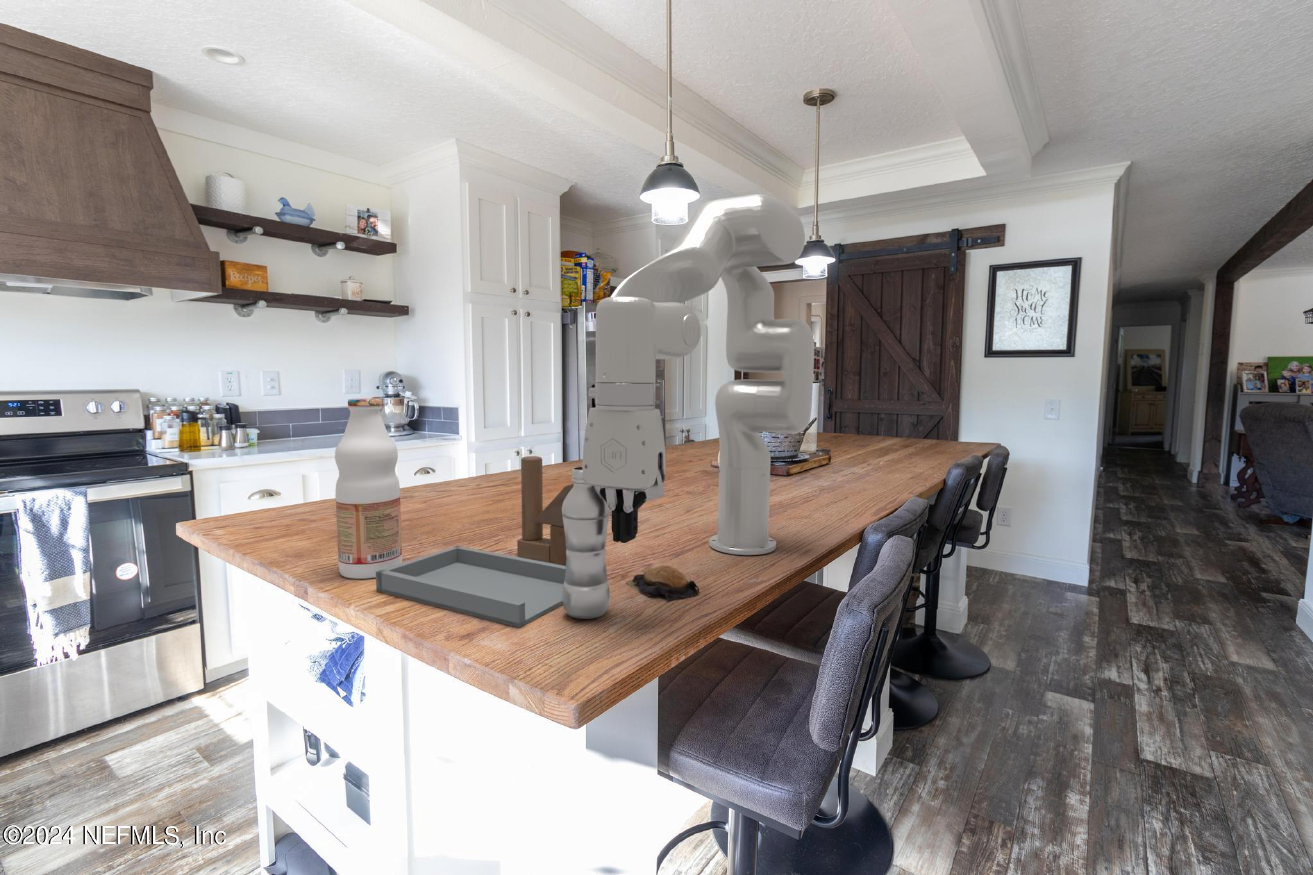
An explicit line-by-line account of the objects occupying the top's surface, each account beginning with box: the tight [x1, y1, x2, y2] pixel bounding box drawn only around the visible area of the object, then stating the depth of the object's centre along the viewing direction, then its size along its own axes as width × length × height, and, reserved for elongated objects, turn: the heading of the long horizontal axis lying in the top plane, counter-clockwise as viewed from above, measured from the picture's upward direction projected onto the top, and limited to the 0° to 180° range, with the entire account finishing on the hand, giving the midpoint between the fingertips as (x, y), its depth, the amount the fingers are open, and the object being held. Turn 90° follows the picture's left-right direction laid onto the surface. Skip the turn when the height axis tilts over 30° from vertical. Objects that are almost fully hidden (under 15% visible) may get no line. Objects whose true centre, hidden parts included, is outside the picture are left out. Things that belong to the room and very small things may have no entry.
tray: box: [375, 545, 566, 629], centre depth 91 cm, size 16×27×3 cm, turn 62°
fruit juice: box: [334, 398, 403, 580], centre depth 99 cm, size 9×9×28 cm
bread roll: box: [626, 565, 700, 603], centre depth 93 cm, size 11×8×4 cm
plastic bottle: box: [562, 465, 611, 620], centre depth 82 cm, size 6×7×20 cm
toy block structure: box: [516, 455, 574, 566], centre depth 105 cm, size 4×11×18 cm, turn 61°
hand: (624, 539), depth 79 cm, fingers closed
